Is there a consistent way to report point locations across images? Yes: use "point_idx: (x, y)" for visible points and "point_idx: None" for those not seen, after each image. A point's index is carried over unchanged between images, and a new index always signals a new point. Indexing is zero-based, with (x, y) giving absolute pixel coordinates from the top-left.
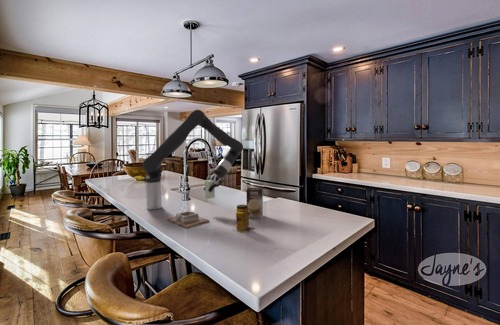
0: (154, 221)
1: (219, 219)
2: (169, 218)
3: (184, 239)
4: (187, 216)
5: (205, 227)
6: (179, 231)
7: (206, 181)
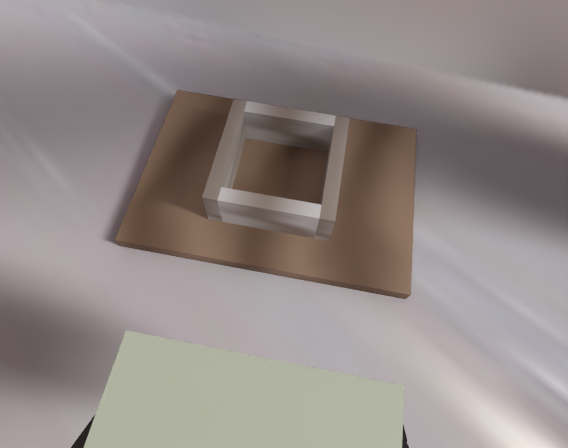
0: (445, 93)
1: (68, 336)
2: (397, 135)
3: (85, 18)
4: (227, 118)
5: (77, 158)
6: (181, 62)
7: (283, 363)
